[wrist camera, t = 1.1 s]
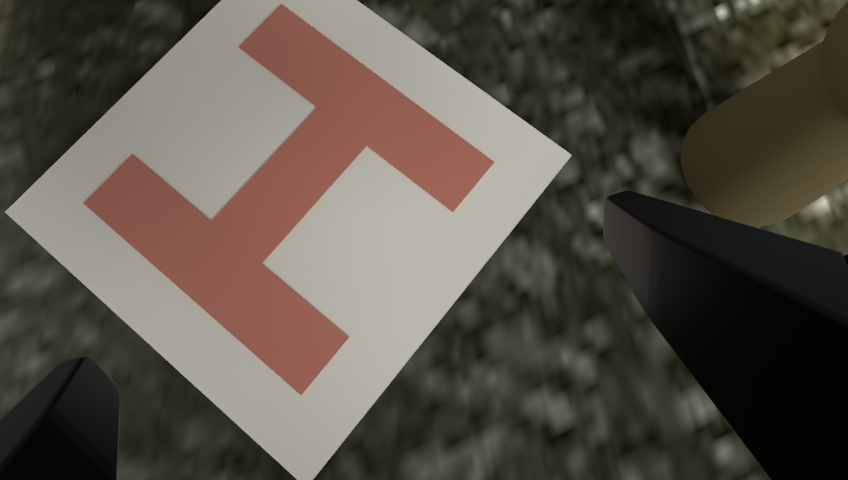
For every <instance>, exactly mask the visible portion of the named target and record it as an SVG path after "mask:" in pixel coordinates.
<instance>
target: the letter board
mask: <svg viewBox="0 0 848 480" xmlns="http://www.w3.org/2000/svg"><path fill="white" fill-rule="evenodd" d="M570 157H571V154H570V153H568V152H567V151H565V150H564V149H563V148H561V147H560V146H559V145H557V144H556V143H554V142H553V141H552V140H550V139H549V138H547V137H546V136H545V135H543V134H542V133H541V132H539V131H538V130H536V129H535V128H534V127H532V126H531V125H529V124H528V123H527V122H525V121H524V120H522V119H521V118H520V117H518V116H517V115H516V114H514V113H513V112H511V111H510V110H509V109H507V108H506V107H504V106H503V105H502V104H500V103H499V102H497V101H496V100H495V99H493V98H492V97H491V96H489V95H488V94H486V93H485V92H484V91H482V90H481V89H479V88H478V87H477V86H475V85H474V84H473V83H471V82H470V81H468V80H467V79H466V78H464V77H463V76H461V75H460V74H459V73H457V72H456V71H454V70H453V69H452V68H450V67H449V66H448V65H446V64H445V63H443V62H442V61H441V60H439V59H438V58H436V57H435V56H434V55H432V54H431V53H430V52H428V51H427V50H425V49H424V48H423V47H421V46H420V45H418V44H417V43H416V42H414V41H413V40H411V39H410V38H409V37H407V36H406V35H405V34H403V33H402V32H400V31H399V30H398V29H396V28H395V27H393V26H392V25H391V24H389V23H388V22H386V21H385V20H384V19H382V18H381V17H380V16H378V15H377V14H375V13H374V12H373V11H371V10H370V9H368V8H367V7H366V6H364V5H363V4H362V3H360V2H359V1H357V0H221V1H220V2H219V3H218V4H217V5H216V6H215V7H214V8H213V9H212V10H211V11H210V12H209V13H208V14H207V15H206V16H205V17H204V18H203V19H202V20H200V21H199V22H198V23H197V24H196V25H195V26H194V27H193V28H192V29H191V30H190V31H189V32H188V33H187V34H186V35H185V36H184V37H183V38H182V39H181V40H180V41H179V42H178V43H177V44H176V45H175V46H174V47H173V48H172V49H171V50H170V51H169V52H168V53H167V54H166V55H165V56H164V57H163V58H162V59H161V60H160V61H159V62H158V63H157V64H156V65H155V66H154V67H152V68H151V69H150V70H149V71H148V72H147V73H146V74H145V75H144V76H143V77H142V78H141V79H140V80H139V81H138V82H137V83H136V84H135V85H134V86H133V87H132V88H131V89H130V90H129V91H128V92H127V93H126V94H125V95H124V96H123V97H122V98H121V99H120V100H119V101H118V102H117V103H116V104H115V105H114V106H113V107H112V108H111V109H110V110H109V111H108V112H107V113H106V114H104V115H103V116H102V117H101V118H100V119H99V120H98V121H97V122H96V123H95V124H94V125H93V126H92V127H91V128H90V129H89V130H88V131H87V132H86V133H85V134H84V135H83V136H82V137H81V138H80V139H79V140H78V141H77V142H76V143H75V144H74V145H73V146H72V147H71V148H70V149H69V150H68V151H67V152H66V153H65V154H64V155H63V156H62V157H61V158H60V159H59V160H58V161H56V162H55V163H54V164H53V165H52V166H51V167H50V168H49V169H48V170H47V171H46V172H45V173H44V174H43V175H42V176H41V177H40V178H39V179H38V180H37V181H36V182H35V183H34V184H33V185H32V186H31V187H30V188H29V189H28V190H27V191H26V192H25V193H24V194H23V195H22V196H21V197H20V198H19V199H18V200H17V201H16V202H15V203H14V204H13V205H12V206H11V207H9V208H8V209H7V210H6V211H5V213H6V214H7V215H9V216H10V217H11V218H12V219H13V220H14V221H15V222H16V223H17V224H18V225H19V226H21V227H22V228H23V229H24V230H25V231H26V232H27V233H28V234H29V235H30V236H31V237H33V238H34V239H35V240H36V241H37V242H38V243H39V244H40V245H41V246H42V247H43V248H45V249H46V250H47V251H48V252H49V253H50V254H51V255H52V256H53V257H54V258H56V259H57V260H58V261H59V262H60V263H61V264H62V265H63V266H64V267H65V268H66V269H68V270H69V271H70V272H71V273H72V274H73V275H74V276H75V277H76V278H77V279H78V280H80V281H81V282H82V283H83V284H84V285H85V286H86V287H87V288H88V289H89V290H90V291H92V292H93V293H94V294H95V295H96V296H97V297H98V298H99V299H100V300H101V301H102V302H104V303H105V304H106V305H107V306H108V307H109V308H110V309H111V310H112V311H113V312H115V313H116V314H117V315H118V316H119V317H120V318H121V319H122V320H123V321H124V322H125V323H127V324H128V325H129V326H130V327H131V328H132V329H133V330H134V331H135V332H136V333H137V334H139V335H140V336H141V337H142V338H143V339H144V340H145V341H146V342H147V343H148V344H149V345H151V346H152V347H153V348H154V349H155V350H156V351H157V352H158V353H159V354H160V355H162V356H163V357H164V358H165V359H166V360H167V361H168V362H169V363H170V364H171V365H172V366H174V367H175V368H176V369H177V370H178V371H179V372H180V373H181V374H182V375H183V376H184V377H186V378H187V379H188V380H189V381H190V382H191V383H192V384H193V385H194V386H195V387H196V388H198V389H199V390H200V391H201V392H202V393H203V394H204V395H205V396H206V397H207V398H209V399H210V400H211V401H212V402H213V403H214V404H215V405H216V406H217V407H218V408H219V409H221V410H222V411H223V412H224V413H225V414H226V415H227V416H228V417H229V418H230V419H231V420H233V421H234V422H235V423H236V424H237V425H238V426H239V427H240V428H241V429H242V430H243V431H245V432H246V433H247V434H248V435H249V436H250V437H251V438H252V439H253V440H254V441H255V442H257V443H258V444H259V445H260V446H261V447H262V448H263V449H264V450H265V451H266V452H268V453H269V454H270V455H271V456H272V457H273V458H274V459H275V460H276V461H277V462H278V463H280V464H281V465H282V466H283V467H284V468H285V469H286V470H287V471H288V472H289V473H290V474H292V475H293V476H294V477H295V478H296V479H297V480H313V479H314V478H315V477H316V476H317V474H318V473H319V472H320V470H321V469H322V468H323V467H324V465H325V464H326V463H327V462H328V460H329V459H330V458H331V457H332V455H333V454H334V453H335V452H336V450H337V449H338V448H339V447H340V445H341V444H342V443H343V442H344V440H345V439H346V438H347V437H348V435H349V434H350V433H351V432H352V430H353V429H354V428H355V427H356V425H357V424H358V423H359V422H360V420H361V419H362V418H363V417H364V415H365V414H366V413H367V412H368V410H369V409H370V408H371V407H372V405H373V404H374V403H375V402H376V400H377V399H378V398H379V397H380V395H381V394H382V393H383V392H384V390H385V389H386V388H387V387H388V385H389V384H390V383H391V381H392V380H393V379H394V378H395V376H396V375H397V374H398V373H399V371H400V370H401V369H402V368H403V366H404V365H405V364H406V363H407V361H408V360H409V359H410V358H411V356H412V355H413V354H414V353H415V351H416V350H417V349H418V348H419V346H420V345H421V344H422V343H423V341H424V340H425V339H426V338H427V336H428V335H429V334H430V333H431V331H432V330H433V329H434V328H435V326H436V325H437V324H438V323H439V321H440V320H441V319H442V318H443V316H444V315H445V314H446V313H447V311H448V310H449V309H450V308H451V306H452V305H453V304H454V303H455V301H456V300H457V299H458V298H459V296H460V295H461V294H462V292H463V291H464V290H465V289H466V287H467V286H468V285H469V284H470V282H471V281H472V280H473V279H474V277H475V276H476V275H477V274H478V272H479V271H480V270H481V269H482V267H483V266H484V265H485V264H486V262H487V261H488V260H489V259H490V257H491V256H492V255H493V254H494V252H495V251H496V250H497V249H498V247H499V246H500V245H501V244H502V242H503V241H504V240H505V239H506V237H507V236H508V235H509V234H510V232H511V231H512V230H513V229H514V227H515V226H516V225H517V224H518V222H519V221H520V220H521V219H522V217H523V216H524V215H525V214H526V212H527V211H528V210H529V209H530V207H531V206H532V205H533V203H534V202H535V201H536V200H537V198H538V197H539V196H540V195H541V193H542V192H543V191H544V190H545V188H546V187H547V186H548V185H549V183H550V182H551V181H552V180H553V178H554V177H555V176H556V175H557V173H558V172H559V171H560V170H561V168H562V167H563V166H564V165H565V163H566V162H567V161H568V160H569V158H570Z"/></svg>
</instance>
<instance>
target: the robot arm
mask: <svg viewBox="0 0 848 480" xmlns="http://www.w3.org/2000/svg"><path fill="white" fill-rule="evenodd" d="M604 240H605V243H606V246H607V248H608V250H609V251H610V253H611V255H612V256H613V258H614V260H615V261H616V263H617V265H618V267H619V268H620V270H621V272H622V273H623V275H624V277H625V279H626V280H627V282H628V284H629V285H630V287H631V289H632V291H633V292H634V294H635V296H636V297H637V299H638V301H639V302H640V304H641V306H642V307H643V309H644V311H645V312H646V314H647V315H648V317H649V318H650V319H651V321H652V322H653V324H654V325H655V326H656V328H657V329H658V330H659V332H660V333H661V334H662V336H663V337H664V338H665V340H666V341H667V342H668V343H669V345H670V346H671V347H672V349H673V350H674V351H675V353H676V354H677V355H678V357H679V358H680V359H681V361H682V362H683V363H684V365H685V366H686V367H687V369H688V370H689V371H690V373H691V374H692V375H693V377H694V378H695V379H696V380H697V382H698V383H699V384H700V386H701V387H702V388H703V390H704V391H705V392H706V394H707V395H708V396H709V398H710V399H711V400H712V402H713V403H714V404H715V406H716V407H717V408H718V410H719V411H720V412H721V413H722V415H723V416H724V417H725V419H726V420H727V421H728V423H729V424H730V425H731V427H732V428H733V429H734V431H735V432H736V433H737V435H738V436H739V437H740V439H741V440H742V441H743V443H744V444H745V445H746V446H747V448H748V449H749V450H750V452H751V453H752V454H753V456H754V457H755V458H756V460H757V461H758V462H759V464H760V465H761V466H762V468H763V469H764V470H765V472H766V473H767V474H768V476H769V477H770V478H771V480H848V255H845V256H843V254H842V253H841V252H838V251H834V250H831V249H827V248H824V247H821V246H817V245H814V244H810V243H807V242H803V241H800V240H797V239H793V238H790V237H786V236H783V235H780V234H776V233H773V232H769V231H766V230H762V229H759V228H756V227H752V226H749V225H745V224H742V223H738V222H735V221H732V220H728V219H725V218H721V217H718V216H715V215H711V214H708V213H704V212H701V211H697V210H694V209H691V208H687V207H684V206H680V205H677V204H673V203H670V202H667V201H663V200H660V199H656V198H653V197H649V196H646V195H643V194H639V193H636V192H632V191H623V192H620V193H617V194H614V195H610V196H608V197H607V198H606V199H605V201H604ZM120 402H121V399H120V392H119V389H118V387H117V385H116V384H115V383H114V381H113V380H112V379H111V378H110V377H109V376H108V375H107V373H106V372H105V371H104V370H103V369H102V368H101V366H100V365H99V364H98V363H97V362H96V361H95V360H94V359H93V358H92V357H90V356H80V357H77V358H74V359H70V360H67V361H64V362H62V363H60V364H58V365H57V366H56V367H55V368H54V369H53V370H52V371H51V372H50V373H49V374H48V375H47V376H46V377H45V378H44V379H43V380H42V381H40V382H39V383H38V384H37V385H36V386H35V387H34V388H33V389H32V390H31V391H30V392H29V393H28V394H27V395H26V396H25V397H24V398H23V399H22V400H21V401H20V402H18V403H17V404H16V405H15V406H14V407H13V408H12V409H11V410H10V411H9V412H8V413H7V414H6V415H5V416H4V417H3V418H2V419H1V420H0V480H117V467H118V446H119V424H120Z"/></svg>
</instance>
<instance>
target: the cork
mask: <svg viewBox="0 0 848 480" xmlns="http://www.w3.org/2000/svg"><path fill="white" fill-rule="evenodd" d="M680 163H681V167H682V171H683V175H684V179H685V182H686V184H687V185H688V187H689V189H690V190H691V192H692V193H693V195H694V197H695V198H696V200H697V201H699V202H700V203H701V204H702V205H703V206H704V207H705V208H706V209H707V210H709V211H710V212H711V213H712V214H713V215H716V216H718V217H721V218H725V219H728V220H732V221H735V222H738V223H742V224H745V225H749V226H752V227H760V226H767V225H774V224H776V223H778V222H780V221H782V220H784V219H786V218H788V217H790V216H792V215H794V214H795V213H797V212H798V211H800V210H802V209H803V208H805V207H806V206H808V205H809V204H811V203H812V202H814V201H815V200H817V199H818V198H820V197H822V196H823V195H825V194H826V193H828V192H829V191H831V190H832V189H834V188H835V187H837V186H838V185H840V184H841V183H843V182H845V181H846V180H848V2H847V3H846V4H845V5H844V6H843V7H842V8H841V9H840V11H839V12H838V14H837V15H836V17H835V18H834V20H833V21H832V23H831V24H830V26H829V29H828V31H827V34H826V36H825V38H824V41H822V42H821V43H819V44H817V45H816V46H814V47H813V48H811V49H809V50H808V51H806V52H804V53H803V54H801V55H799V56H798V57H796V58H794V59H793V60H791V61H790V62H788V63H786V64H785V65H783V66H781V67H780V68H778V69H776V70H775V71H773V72H772V73H770V74H768V75H767V76H765V77H763V78H762V79H760V80H758V81H757V82H755V83H753V84H752V85H750V86H749V87H747V88H745V89H744V90H742V91H740V92H739V93H737V94H735V95H734V96H732V97H730V98H729V99H727V100H726V101H724V102H722V103H721V104H719V105H717V106H716V107H714V108H712V109H711V110H709V111H707V112H706V113H704V114H703V115H702V116H701V117H700V118H698V119H697V120H696V121H695V122H694V123H693V124H692V125H691V126H690V128H689V130H688V132H687V134H686V136H685V138H684V140H683V143H682V149H681V161H680Z"/></svg>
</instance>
